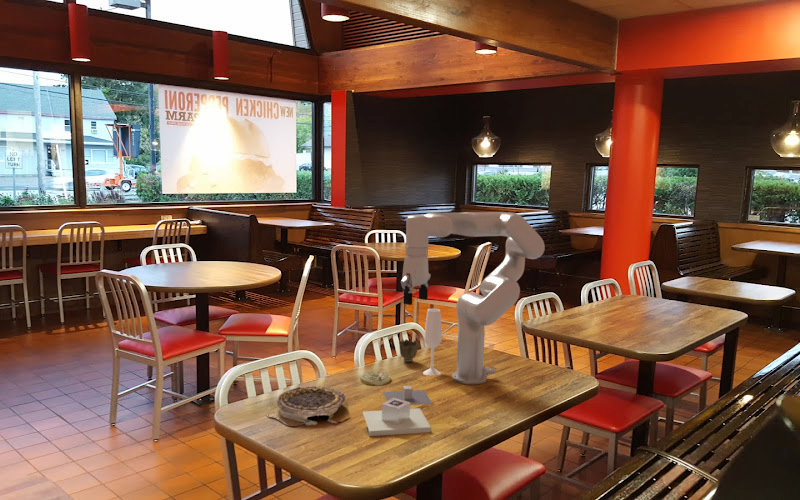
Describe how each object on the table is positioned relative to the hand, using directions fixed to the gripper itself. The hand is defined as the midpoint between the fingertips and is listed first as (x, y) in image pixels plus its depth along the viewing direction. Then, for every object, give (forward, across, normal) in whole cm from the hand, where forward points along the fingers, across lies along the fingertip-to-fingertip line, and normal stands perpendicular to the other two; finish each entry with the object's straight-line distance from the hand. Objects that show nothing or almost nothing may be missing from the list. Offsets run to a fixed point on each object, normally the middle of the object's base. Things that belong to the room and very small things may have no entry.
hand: (415, 301), depth 209 cm
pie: (+31, +35, -15) cm, 49 cm away
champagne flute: (+31, -16, -2) cm, 35 cm away
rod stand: (+30, +13, +6) cm, 33 cm away
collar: (+29, +29, +12) cm, 43 cm away
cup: (+31, -22, -16) cm, 41 cm away
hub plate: (+30, +29, +12) cm, 44 cm away
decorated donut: (+31, +6, -12) cm, 34 cm away
